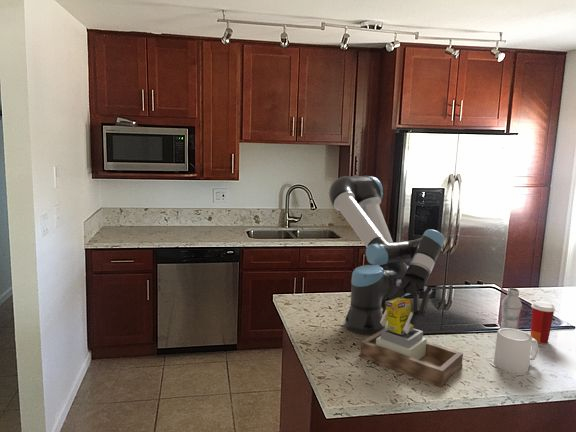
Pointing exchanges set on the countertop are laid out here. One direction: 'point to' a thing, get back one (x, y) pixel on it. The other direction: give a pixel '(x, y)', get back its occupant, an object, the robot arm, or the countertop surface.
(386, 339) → the stepped square pedestal
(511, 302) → the plastic bottle
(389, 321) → the supplement box
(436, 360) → the tray
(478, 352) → the countertop surface
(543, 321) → the paper cup
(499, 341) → the mug
